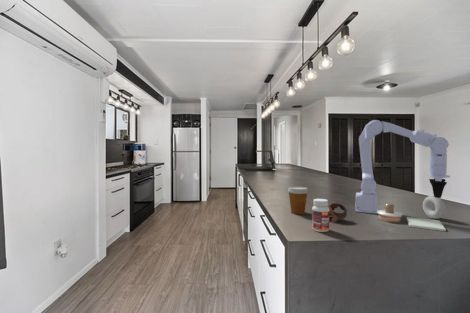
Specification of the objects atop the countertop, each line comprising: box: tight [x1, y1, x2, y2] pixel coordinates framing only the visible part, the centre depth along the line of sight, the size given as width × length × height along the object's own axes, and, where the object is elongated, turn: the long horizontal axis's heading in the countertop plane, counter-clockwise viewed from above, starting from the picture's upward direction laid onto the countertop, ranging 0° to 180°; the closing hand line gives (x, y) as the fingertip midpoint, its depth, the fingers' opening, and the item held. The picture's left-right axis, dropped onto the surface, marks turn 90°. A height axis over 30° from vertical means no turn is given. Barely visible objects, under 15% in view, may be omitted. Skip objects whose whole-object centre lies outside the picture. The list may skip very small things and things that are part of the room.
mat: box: [406, 216, 447, 232], centre depth 100 cm, size 11×13×1 cm
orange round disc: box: [378, 214, 402, 223], centre depth 107 cm, size 9×9×2 cm
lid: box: [377, 203, 403, 217], centre depth 106 cm, size 9×9×4 cm
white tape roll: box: [422, 195, 446, 220], centre depth 108 cm, size 10×4×10 cm, turn 3°
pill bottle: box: [311, 198, 330, 233], centre depth 93 cm, size 6×6×11 cm
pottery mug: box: [327, 202, 348, 223], centre depth 107 cm, size 12×10×8 cm
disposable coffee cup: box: [287, 186, 309, 215], centre depth 119 cm, size 10×10×12 cm
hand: (437, 196), depth 107 cm, fingers open, 7 cm apart
